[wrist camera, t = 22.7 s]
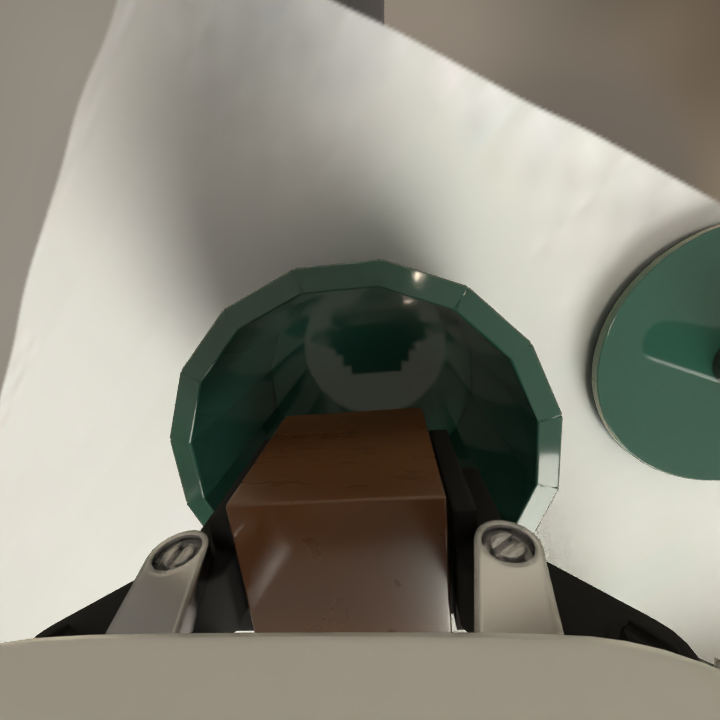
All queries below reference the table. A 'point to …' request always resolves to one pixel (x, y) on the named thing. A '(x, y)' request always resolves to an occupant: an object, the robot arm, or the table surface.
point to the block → (345, 526)
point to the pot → (369, 378)
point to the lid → (666, 362)
